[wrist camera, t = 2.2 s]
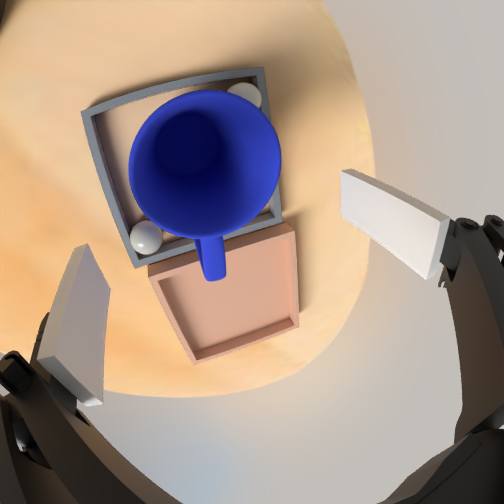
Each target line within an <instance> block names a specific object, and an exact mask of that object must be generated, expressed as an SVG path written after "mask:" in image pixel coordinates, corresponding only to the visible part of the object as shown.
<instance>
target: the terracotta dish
mask: <svg viewBox="0 0 504 504" xmlns="http://www.w3.org/2000/svg"><path fill="white" fill-rule="evenodd" d="M224 247H225V256H226V272H227V274H226V277H225V278H223V279H221V280H218V281H213V282H209V281H207V280H206V279H205V277H204V274H203V271H202V268H201V264H200V261H199V257H198V254H197V250H195V251H192V252H189V253H186V254H183V255H179V256H176V257H173V258H170V259H167V260H164V261H161V262H158V263H155V264H152V265H149V266H148V278H149V280H150V283H151V285H152V287H153V289H154V291H155V293H156V295H157V297H158V300H159V302H160V304H161V306H162V308H163V310H164V312H165V314H166V316H167V318H168V320H169V322H170V324H171V325H172V327H173V329H174V331H175V333H176V335H177V337H178V339H179V341H180V342H181V344H182V346H183V348H184V350H185V351H186V353H187V355H188V357H189V358H190V360H191V362H192V364H193V365H195V364H198V363H201V362H204V361H208V360H211V359H214V358H217V357H220V356H223V355H226V354H229V353H232V352H234V351H237V350H240V349H243V348H246V347H249V346H251V345H254V344H257V343H259V342H262V341H265V340H267V339H270V338H272V337H275V336H278V335H280V334H283V333H285V332H288V331H290V330H293V329H295V328H297V327H299V301H298V277H297V258H296V241H295V230H294V229H293V228H292V227H290V226H289V225H288V224H287V223H283V224H279V225H276V226H273V227H269V228H266V229H263V230H259V231H256V232H253V233H250V234H246V235H243V236H240V237H237V238H233V239H230V240H227V241H224Z"/></svg>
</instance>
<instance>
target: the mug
mask: <svg viewBox="0 0 504 504" xmlns="http://www.w3.org/2000/svg"><path fill="white" fill-rule="evenodd" d="M280 170H281V149H280V144H279V140H278V137H277V134H276V132H275V129H274V127H273V126H272V124H271V122H270V121H269V119H268V118H267V117H266V115H265V114H264V113H263V112H262V111H261V110H260V109H259V108H258V107H257V106H255V105H254V104H253V103H251V102H250V101H248V100H247V99H245V98H243V97H241V96H238V95H236V94H233V93H230V92H225V91H220V90H199V91H193V92H189V93H186V94H183V95H180V96H178V97H175V98H173V99H171V100H170V101H168V102H166V103H165V104H163V105H162V106H160V107H159V108H158V109H157V110H156V111H154V112H153V113H152V114H151V115H150V116H149V118H148V119H147V120H146V121H145V122H144V124H143V125H142V127H141V128H140V130H139V132H138V133H137V135H136V137H135V140H134V142H133V145H132V148H131V152H130V157H129V181H130V186H131V190H132V193H133V195H134V198H135V200H136V202H137V204H138V205H139V207H140V208H141V210H142V211H143V213H144V214H145V215H146V216H147V217H148V218H149V219H150V220H151V221H152V222H153V223H154V224H156V225H157V226H158V227H160V228H161V229H163V230H165V231H167V232H169V233H171V234H174V235H177V236H180V237H185V238H191V239H194V243H195V247H196V250H197V254H198V257H199V261H200V264H201V268H202V271H203V274H204V277H205V279H206V280H207V281H209V282H213V281H218V280H221V279H223V278H225V277H226V274H227V272H226V256H225V247H224V240H223V235H226V234H229V233H231V232H234V231H236V230H238V229H239V228H241V227H243V226H244V225H246V224H247V223H249V222H250V221H251V220H253V219H254V218H255V217H256V216H257V215H258V214H259V213H260V212H261V211H262V210H263V208H264V207H265V206H266V204H267V203H268V201H269V200H270V198H271V197H272V195H273V193H274V191H275V188H276V186H277V183H278V180H279V176H280Z"/></svg>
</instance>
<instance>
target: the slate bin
mask: <svg viewBox="0 0 504 504" xmlns="http://www.w3.org/2000/svg"><path fill="white" fill-rule="evenodd" d="M243 77H251V81H252V85H254V86H255V87H256V88H257V89H258V90H259V91H260V93H261V97H262V102H261V106H260V108H259V109H260V110H261V111H262V112H263V113H264V114H265V115H266V117H267V118H268V119H269V121H270V122H271V117H270V110H269V102H268V95H267V88H266V82H265V75H264V68H263V67H256V68H246V69H238V70H230V71H223V72H216V73H210V74H205V75H199V76H194V77H189V78H185V79H180V80H176V81H171V82H167V83H163V84H160V85H156V86H152V87H149V88H145V89H142V90H138V91H135V92H132V93H129V94H126V95H123V96H120V97H117V98H114V99H111V100H109V101H106V102H103V103H101V104H98V105H95V106H93V107H91V108H88V109H86V110H83V111H81V116H82V120H83V124H84V128H85V132H86V136H87V139H88V143H89V147H90V150H91V153H92V157H93V160H94V163H95V167H96V170H97V173H98V176H99V179H100V182H101V185H102V188H103V191H104V194H105V197H106V199H107V202H108V205H109V208H110V210H111V213H112V216H113V218H114V221H115V223H116V226H117V228H118V231H119V233H120V236H121V238H122V241H123V243H124V245H125V248H126V250H127V252H128V255H129V257H130V259H131V261H132V264H133V266H134V268H138V267H141V266H144V265H147V264H150V263H153V262H156V261H159V260H162V259H166V258H169V257H172V256H175V255H178V254H181V253H184V252H187V251H190V250H194V249H196V247H195V243H194V239H191V238H183V239H180V240H177V241H173V242H170V243H167V244H164V245H161V246H160V248H159V249H158V250H157V251H156V252H154V253H152V254H148V255H144V254H140V253H138V252H137V251H136V250H135V249H134V248H133V247H132V245H131V242H130V234H131V232H130V229H129V227H128V224H127V221H126V219H125V216H124V213H123V211H122V208H121V205H120V202H119V199H118V196H117V193H116V191H115V188H114V185H113V181H112V178H111V175H110V172H109V169H108V166H107V162H106V159H105V155H104V152H103V148H102V145H101V141H100V138H99V134H98V130H97V126H96V122H95V118H94V116H95V115H97V114H100V113H102V112H105V111H108V110H110V109H113V108H116V107H119V106H122V105H125V104H128V103H131V102H134V101H137V100H140V99H143V98H147V97H150V96H154V95H157V94H161V93H165V92H169V91H173V90H177V89H181V88H186V87H190V86H195V85H200V84H205V83H210V82H216V81H222V80H229V79H236V78H243ZM268 202H269V210H270V212H269V213H266V214H262V215H259V216H256V217H255V218H254V219H253V220H251V221H250V222H249V223H247V224H246V225H244V226H243V227H241V228H239V229H238V230H236V231H234V232H231V233H229V234H226V235H223V240H225V239H229V238H232V237H235V236H238V235H242V234H245V233H248V232H251V231H255V230H258V229H261V228H265V227H268V226H271V225H275V224H278V223H281V222H282V212H281V202H280V192H279V183H277V186H276V188H275V191H274V193H273V195H272V197H271V198H270V200H269V201H268Z"/></svg>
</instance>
